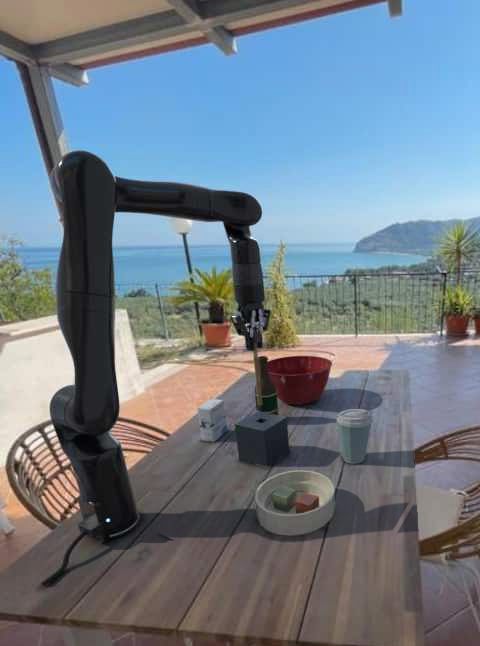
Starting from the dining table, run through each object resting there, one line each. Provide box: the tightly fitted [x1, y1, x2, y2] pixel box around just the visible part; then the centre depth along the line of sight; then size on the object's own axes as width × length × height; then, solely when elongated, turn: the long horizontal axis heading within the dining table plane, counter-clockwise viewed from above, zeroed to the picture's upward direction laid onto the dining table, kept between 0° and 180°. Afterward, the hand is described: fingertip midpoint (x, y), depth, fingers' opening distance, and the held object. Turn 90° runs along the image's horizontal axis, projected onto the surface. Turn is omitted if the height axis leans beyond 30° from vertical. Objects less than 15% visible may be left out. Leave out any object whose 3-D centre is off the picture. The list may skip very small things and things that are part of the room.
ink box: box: [197, 398, 228, 443], centre depth 129 cm, size 9×5×12 cm, turn 168°
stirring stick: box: [247, 330, 262, 405], centre depth 107 cm, size 3×3×21 cm
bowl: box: [254, 469, 336, 537], centre depth 92 cm, size 18×18×6 cm
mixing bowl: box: [268, 355, 333, 406], centre depth 160 cm, size 28×28×16 cm
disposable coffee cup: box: [336, 408, 374, 465], centre depth 114 cm, size 11×11×15 cm
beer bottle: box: [254, 355, 279, 416], centre depth 138 cm, size 8×8×24 cm
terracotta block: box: [295, 492, 319, 514], centre depth 90 cm, size 4×4×4 cm
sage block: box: [273, 486, 297, 513], centre depth 93 cm, size 4×4×4 cm
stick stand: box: [234, 411, 290, 468], centre depth 115 cm, size 11×11×12 cm
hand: (254, 349), depth 105 cm, fingers closed on stirring stick, 2 cm apart
